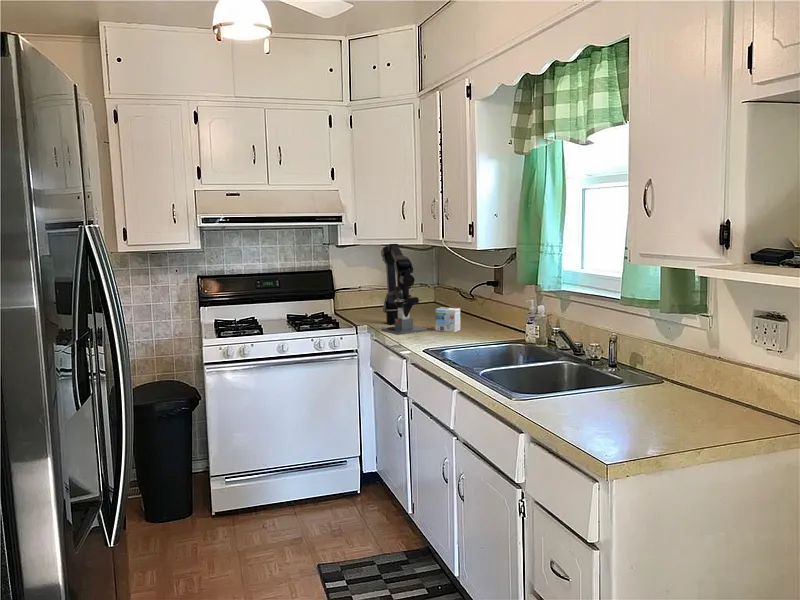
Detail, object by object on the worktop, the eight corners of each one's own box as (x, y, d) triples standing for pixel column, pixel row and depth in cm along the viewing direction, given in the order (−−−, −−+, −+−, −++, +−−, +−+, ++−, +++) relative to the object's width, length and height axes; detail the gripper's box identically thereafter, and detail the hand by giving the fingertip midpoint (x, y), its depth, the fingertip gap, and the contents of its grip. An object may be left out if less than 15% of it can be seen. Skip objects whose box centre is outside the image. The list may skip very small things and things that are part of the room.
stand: (381, 330, 331) (381, 318, 330) (408, 326, 339) (408, 315, 339) (399, 334, 317) (398, 322, 317) (426, 330, 326) (426, 318, 325)
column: (398, 328, 329) (397, 307, 328) (405, 327, 331) (404, 307, 330) (402, 329, 325) (402, 308, 324) (410, 328, 328) (409, 307, 326)
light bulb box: (435, 330, 326) (434, 308, 325) (440, 328, 332) (440, 307, 331) (455, 332, 321) (455, 309, 320) (460, 330, 327) (460, 308, 326)
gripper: (378, 284, 329) (379, 315, 331) (399, 287, 313) (400, 320, 315) (398, 282, 335) (398, 313, 337) (419, 285, 319) (419, 318, 321)
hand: (403, 316), depth 328 cm, fingers closed on column, 4 cm apart
